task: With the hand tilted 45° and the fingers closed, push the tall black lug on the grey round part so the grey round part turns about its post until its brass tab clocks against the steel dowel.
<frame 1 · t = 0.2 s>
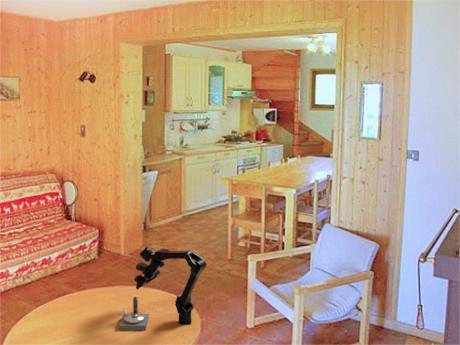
hand: (141, 286, 290), 15 cm above the table, fingers open, 9 cm apart
post base: (134, 323, 276), on the table
grey round part: (134, 309, 275), point 8 cm above the table, hinge at 0.0°
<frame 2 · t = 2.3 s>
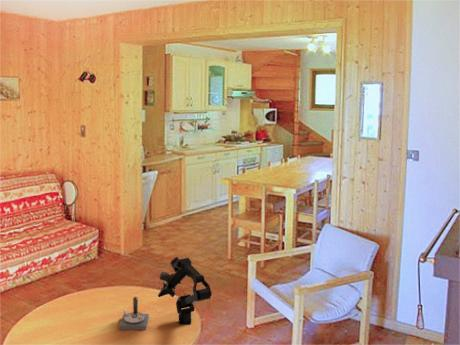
hand: (158, 296, 280), 14 cm above the table, fingers closed
nothing on the table moved.
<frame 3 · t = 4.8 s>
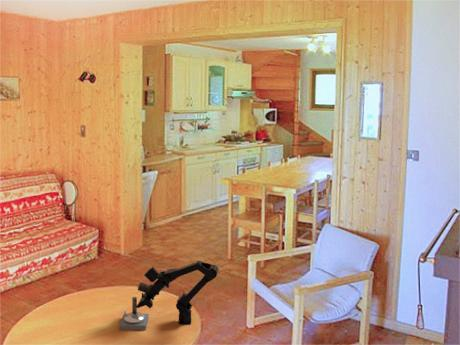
hand: (137, 307, 278), 8 cm above the table, fingers closed, pressing on grey round part
grey round part: (134, 309, 275), point 8 cm above the table, hinge at 6.7°, touching gripper
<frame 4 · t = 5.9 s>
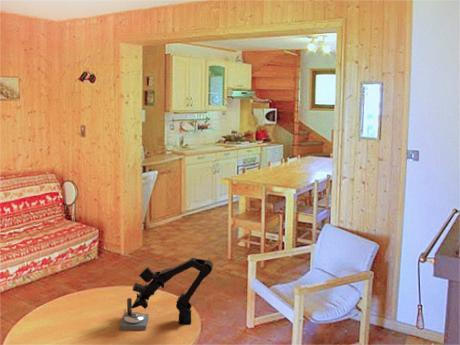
hand: (132, 307, 278), 8 cm above the table, fingers closed, pressing on grey round part
grey round part: (133, 309, 275), point 8 cm above the table, hinge at 47.7°, touching gripper, post base
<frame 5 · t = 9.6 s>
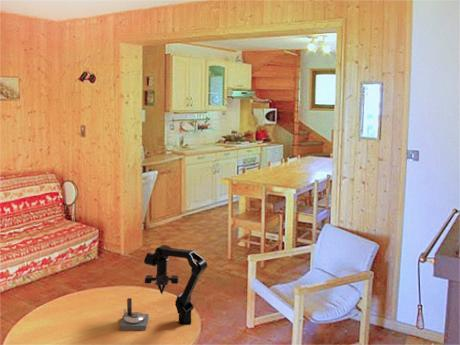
hand: (161, 293, 285), 13 cm above the table, fingers closed
grey round part: (133, 309, 275), point 8 cm above the table, hinge at 47.6°, touching post base
at the end: grey round part at +48° (first picture: +0°) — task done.
